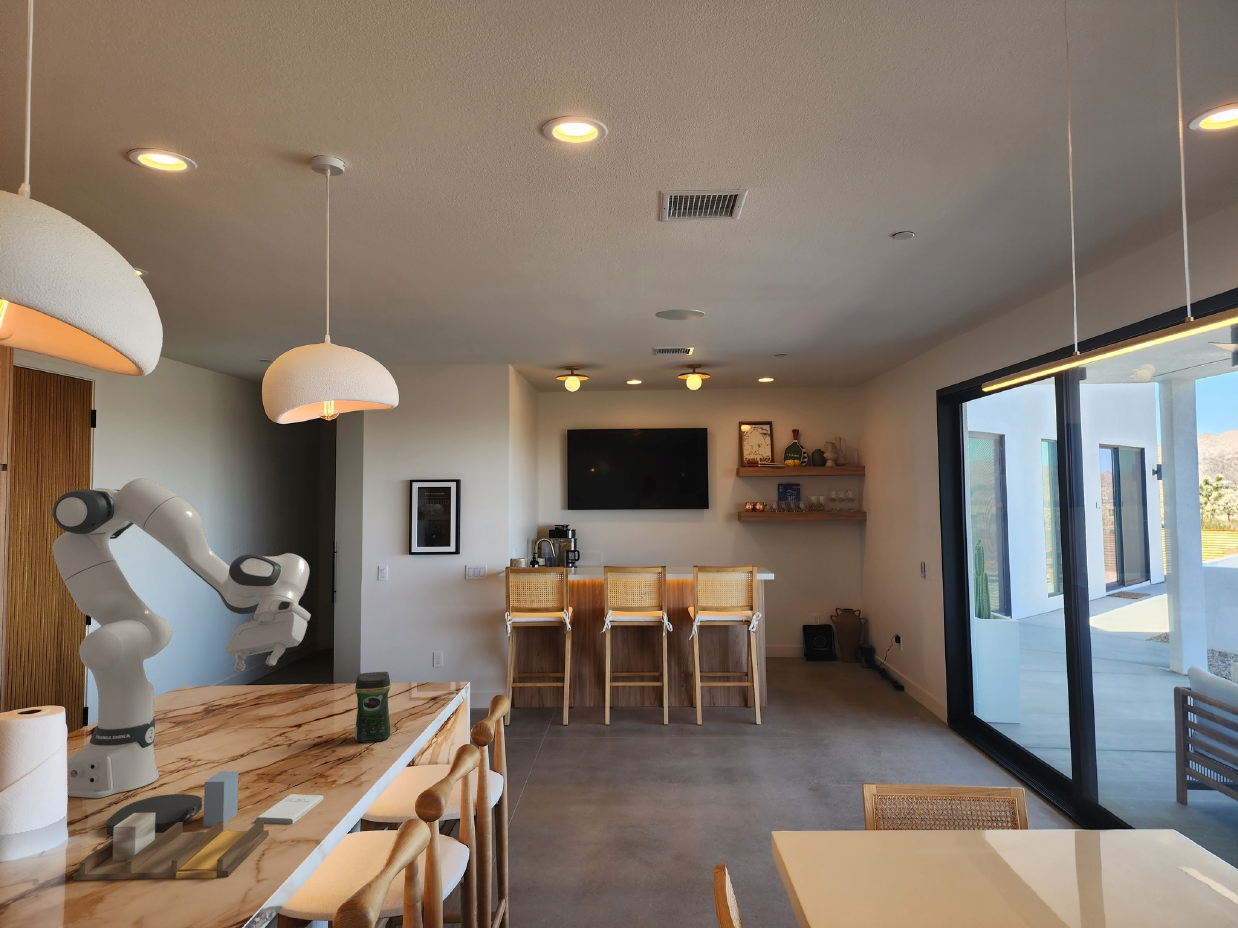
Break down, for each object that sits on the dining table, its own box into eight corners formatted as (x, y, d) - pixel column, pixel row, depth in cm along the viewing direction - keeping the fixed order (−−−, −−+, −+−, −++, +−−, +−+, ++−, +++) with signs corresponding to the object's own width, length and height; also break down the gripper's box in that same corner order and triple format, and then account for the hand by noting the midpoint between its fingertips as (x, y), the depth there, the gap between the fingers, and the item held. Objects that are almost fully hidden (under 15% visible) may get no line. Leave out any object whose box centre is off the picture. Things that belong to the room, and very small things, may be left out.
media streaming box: (140, 807, 159) (140, 793, 159) (208, 805, 160) (209, 791, 160) (97, 837, 144) (97, 822, 145) (172, 835, 146) (173, 819, 146)
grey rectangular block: (203, 826, 149) (204, 781, 149) (218, 813, 155) (219, 771, 155) (223, 825, 149) (224, 781, 149) (237, 813, 155) (238, 770, 155)
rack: (72, 881, 127) (73, 840, 127) (131, 838, 143) (132, 802, 144) (227, 877, 128) (228, 836, 128) (268, 835, 144) (269, 799, 145)
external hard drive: (255, 824, 150) (289, 800, 163) (292, 826, 150) (323, 801, 162) (255, 816, 151) (289, 793, 163) (292, 818, 150) (323, 794, 162)
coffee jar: (390, 732, 209) (391, 668, 210) (389, 741, 202) (390, 674, 203) (355, 735, 207) (356, 670, 208) (353, 744, 199) (354, 676, 200)
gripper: (232, 615, 176) (209, 668, 167) (299, 601, 170) (278, 654, 161) (251, 627, 180) (229, 679, 171) (316, 614, 174) (297, 666, 165)
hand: (254, 667), depth 166 cm, fingers open, 8 cm apart
